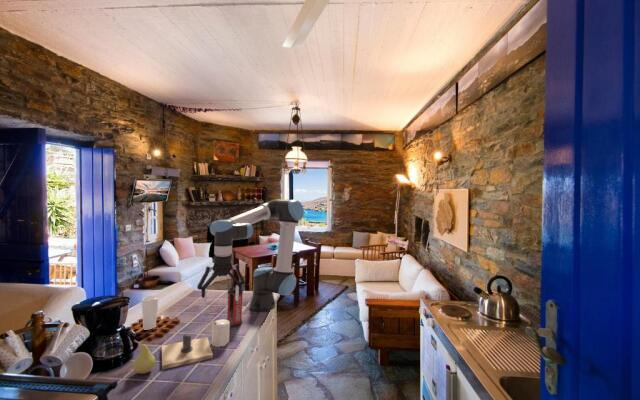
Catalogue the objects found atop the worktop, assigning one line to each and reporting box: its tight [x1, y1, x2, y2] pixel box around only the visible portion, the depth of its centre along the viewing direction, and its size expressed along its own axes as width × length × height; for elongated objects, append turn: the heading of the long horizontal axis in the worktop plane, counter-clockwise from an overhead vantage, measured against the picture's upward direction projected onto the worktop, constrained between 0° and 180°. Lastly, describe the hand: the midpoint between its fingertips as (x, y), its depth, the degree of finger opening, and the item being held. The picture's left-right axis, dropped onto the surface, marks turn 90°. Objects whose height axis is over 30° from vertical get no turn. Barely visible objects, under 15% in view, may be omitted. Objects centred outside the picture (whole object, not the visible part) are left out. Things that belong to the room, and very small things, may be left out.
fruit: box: [132, 339, 156, 375], centre depth 106 cm, size 7×8×12 cm
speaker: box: [226, 286, 244, 327], centre depth 149 cm, size 8×8×18 cm
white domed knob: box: [211, 319, 231, 348], centre depth 129 cm, size 7×7×10 cm
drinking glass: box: [141, 295, 159, 331], centre depth 140 cm, size 7×7×15 cm
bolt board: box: [161, 333, 214, 371], centre depth 120 cm, size 18×16×8 cm
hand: (221, 302), depth 129 cm, fingers open, 13 cm apart
